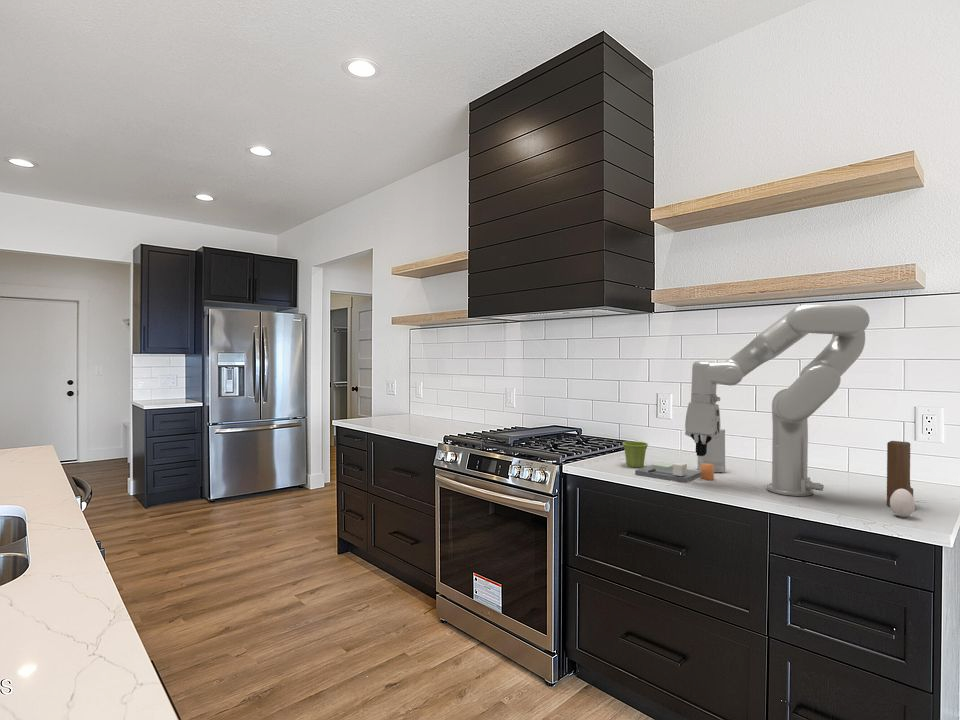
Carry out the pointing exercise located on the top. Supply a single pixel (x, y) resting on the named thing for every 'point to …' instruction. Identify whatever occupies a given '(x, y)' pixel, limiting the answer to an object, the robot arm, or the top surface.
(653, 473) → the breaker board
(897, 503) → the egg
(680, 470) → the block
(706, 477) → the cap
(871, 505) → the top surface
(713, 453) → the skincare box
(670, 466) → the pad
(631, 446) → the plant pot
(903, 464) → the wooden block
